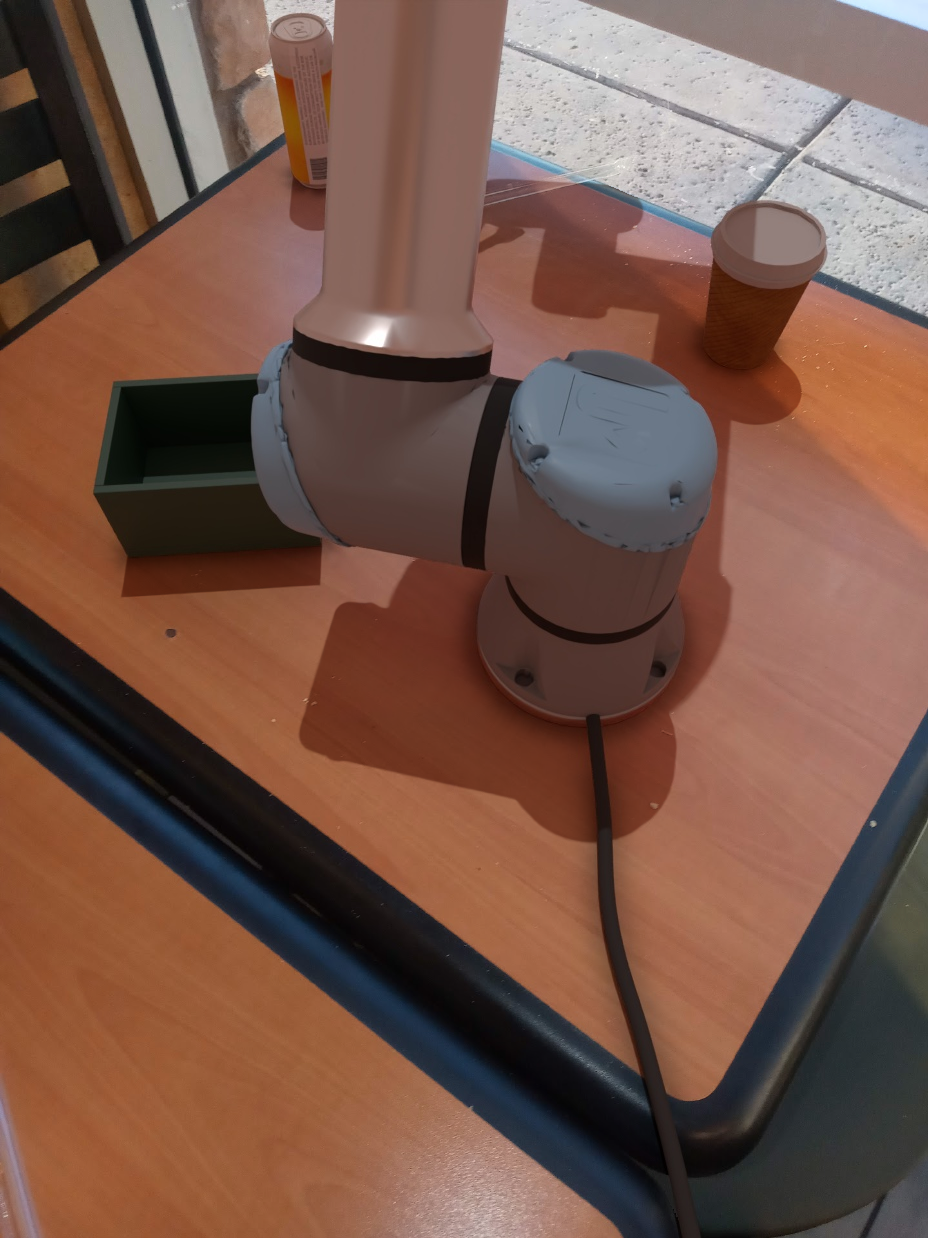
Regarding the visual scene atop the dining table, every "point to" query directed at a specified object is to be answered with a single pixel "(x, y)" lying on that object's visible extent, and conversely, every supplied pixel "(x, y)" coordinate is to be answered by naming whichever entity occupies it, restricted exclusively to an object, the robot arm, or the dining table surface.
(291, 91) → the beer can
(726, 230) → the disposable coffee cup
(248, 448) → the open rectangular storage bin
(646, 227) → the dining table surface
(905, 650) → the dining table surface
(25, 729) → the dining table surface
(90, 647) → the dining table surface
